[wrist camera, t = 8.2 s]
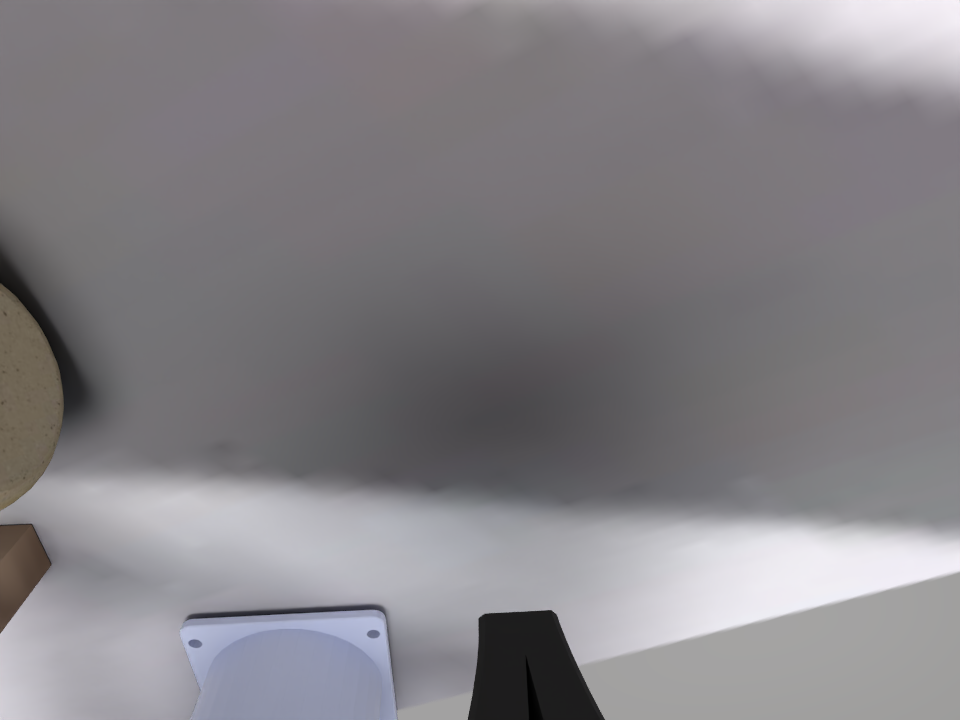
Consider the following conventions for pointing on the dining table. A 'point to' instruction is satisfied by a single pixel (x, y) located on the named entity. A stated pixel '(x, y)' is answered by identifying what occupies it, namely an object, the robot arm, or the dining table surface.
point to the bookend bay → (19, 568)
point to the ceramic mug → (25, 400)
